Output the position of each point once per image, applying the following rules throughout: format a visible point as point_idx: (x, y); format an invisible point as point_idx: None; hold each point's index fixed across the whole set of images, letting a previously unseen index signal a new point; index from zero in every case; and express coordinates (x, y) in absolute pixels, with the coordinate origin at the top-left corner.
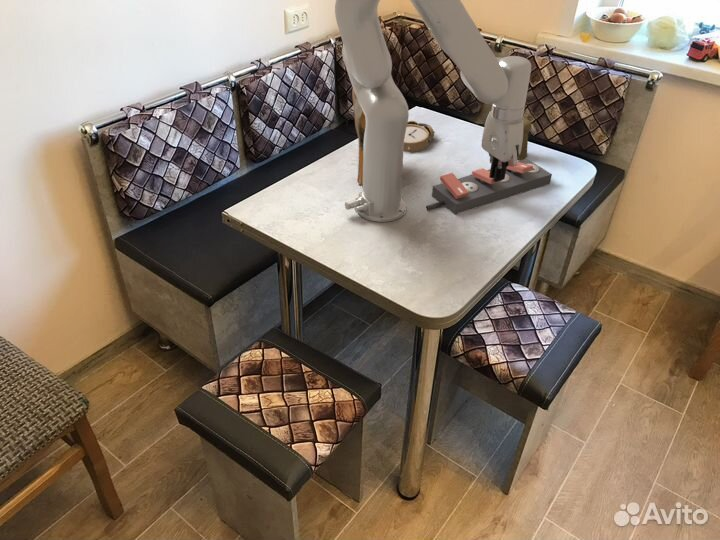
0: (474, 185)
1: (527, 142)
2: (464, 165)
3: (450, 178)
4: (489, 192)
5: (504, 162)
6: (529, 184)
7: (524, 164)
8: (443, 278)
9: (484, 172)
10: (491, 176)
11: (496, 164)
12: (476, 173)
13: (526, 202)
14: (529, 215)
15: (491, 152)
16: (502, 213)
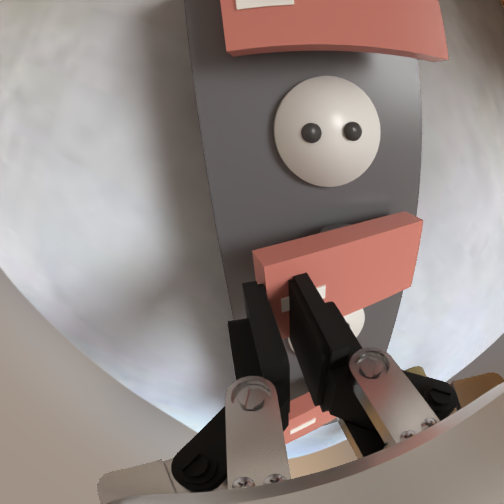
0: (328, 169)
1: None
2: (464, 251)
3: (400, 7)
4: (228, 218)
5: (204, 470)
6: None
7: (316, 425)
8: None
9: (376, 274)
10: (294, 286)
11: (326, 378)
12: (395, 227)
13: (175, 338)
14: (89, 307)
15: (407, 482)
16: (115, 217)
